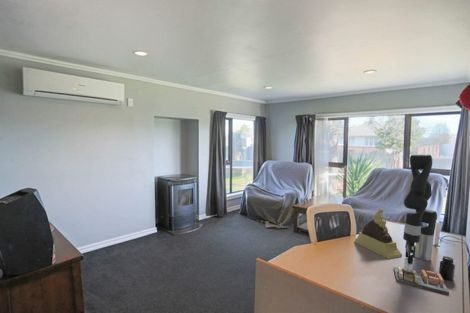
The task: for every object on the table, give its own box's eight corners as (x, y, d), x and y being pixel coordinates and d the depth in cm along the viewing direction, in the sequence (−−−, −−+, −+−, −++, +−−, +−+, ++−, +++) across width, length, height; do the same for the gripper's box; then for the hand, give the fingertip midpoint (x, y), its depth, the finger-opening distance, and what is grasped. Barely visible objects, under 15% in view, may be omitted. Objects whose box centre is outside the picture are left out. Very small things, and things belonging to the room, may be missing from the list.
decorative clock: (401, 256, 178) (406, 213, 175) (388, 259, 173) (393, 214, 171) (367, 240, 204) (371, 202, 201) (354, 242, 199) (358, 203, 197)
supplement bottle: (446, 275, 156) (449, 255, 155) (456, 281, 149) (459, 261, 148) (435, 274, 155) (437, 255, 154) (444, 281, 149) (447, 260, 148)
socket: (421, 274, 152) (421, 269, 151) (438, 278, 148) (439, 273, 148) (424, 281, 144) (424, 276, 144) (443, 285, 140) (443, 280, 140)
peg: (402, 274, 150) (404, 257, 149) (410, 276, 149) (412, 259, 148) (403, 277, 147) (405, 260, 146) (412, 279, 145) (414, 262, 144)
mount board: (393, 269, 159) (394, 262, 159) (440, 280, 149) (441, 272, 149) (396, 281, 145) (397, 274, 144) (448, 295, 135) (450, 286, 134)
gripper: (402, 227, 154) (399, 254, 155) (405, 234, 141) (402, 263, 142) (417, 230, 150) (414, 257, 152) (422, 237, 138) (419, 267, 139)
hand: (408, 260), depth 147 cm, fingers open, 8 cm apart
